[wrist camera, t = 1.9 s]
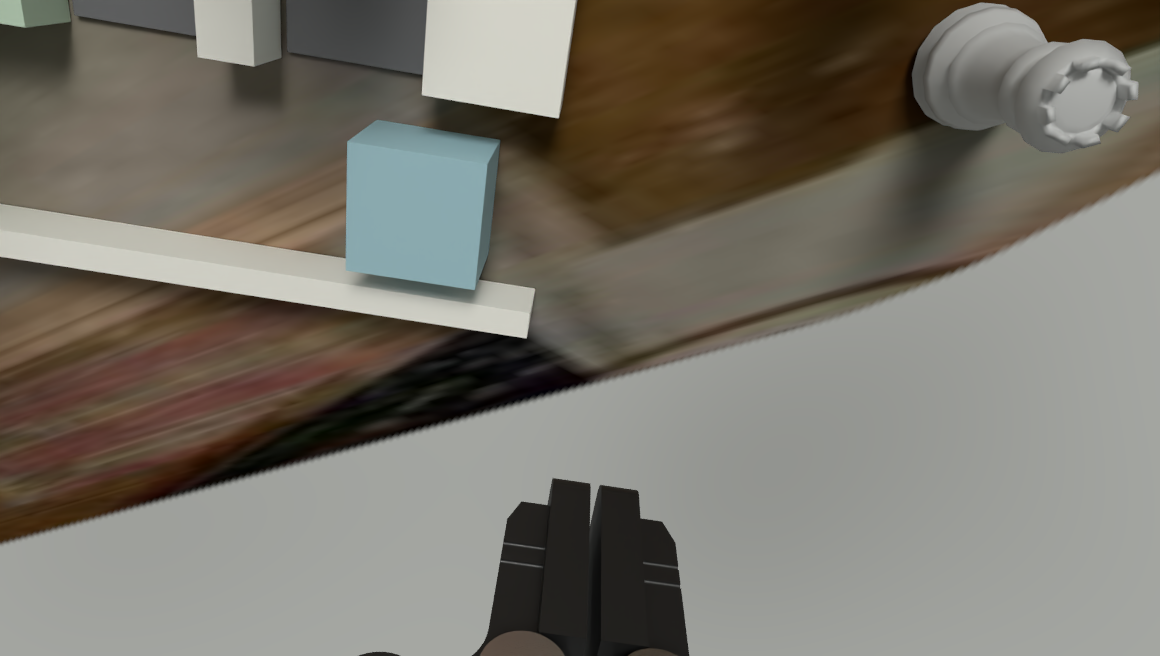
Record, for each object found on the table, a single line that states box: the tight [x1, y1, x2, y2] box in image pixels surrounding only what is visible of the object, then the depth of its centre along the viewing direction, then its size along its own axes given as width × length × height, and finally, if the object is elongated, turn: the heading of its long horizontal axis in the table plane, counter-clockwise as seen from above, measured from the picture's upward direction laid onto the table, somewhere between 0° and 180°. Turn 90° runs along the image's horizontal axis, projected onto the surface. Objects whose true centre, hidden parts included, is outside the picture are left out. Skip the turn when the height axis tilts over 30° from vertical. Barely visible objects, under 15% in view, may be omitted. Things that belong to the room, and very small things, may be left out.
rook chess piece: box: [912, 3, 1138, 153], centre depth 24 cm, size 4×4×8 cm
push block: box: [346, 120, 500, 290], centre depth 29 cm, size 5×5×4 cm
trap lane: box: [0, 0, 577, 338], centre depth 28 cm, size 25×16×2 cm, turn 81°
